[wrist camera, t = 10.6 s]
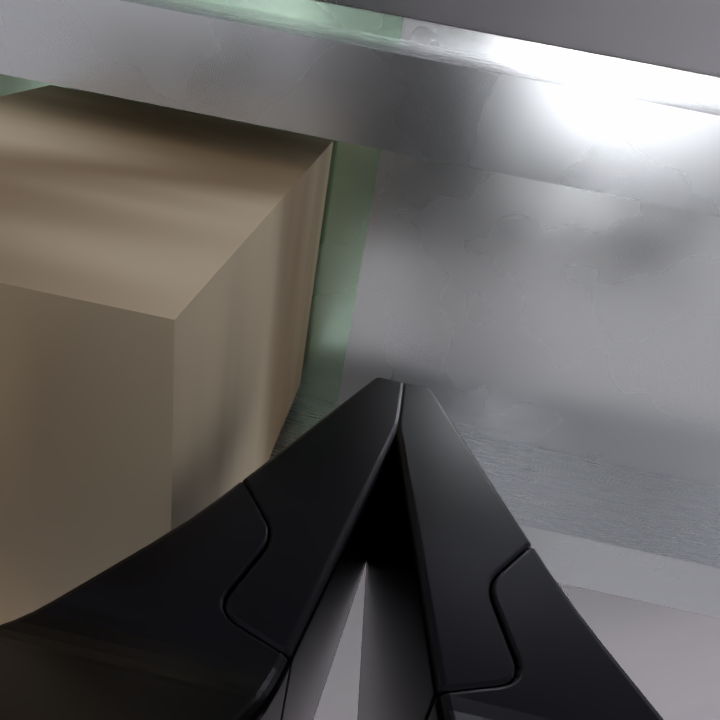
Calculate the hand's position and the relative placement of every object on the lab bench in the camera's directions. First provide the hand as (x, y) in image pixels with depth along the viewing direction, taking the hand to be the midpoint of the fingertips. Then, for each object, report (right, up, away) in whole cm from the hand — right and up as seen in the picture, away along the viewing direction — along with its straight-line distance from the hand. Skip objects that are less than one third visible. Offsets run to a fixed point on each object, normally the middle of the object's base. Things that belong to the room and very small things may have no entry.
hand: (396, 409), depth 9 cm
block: (-4, +3, +4) cm, 6 cm away
